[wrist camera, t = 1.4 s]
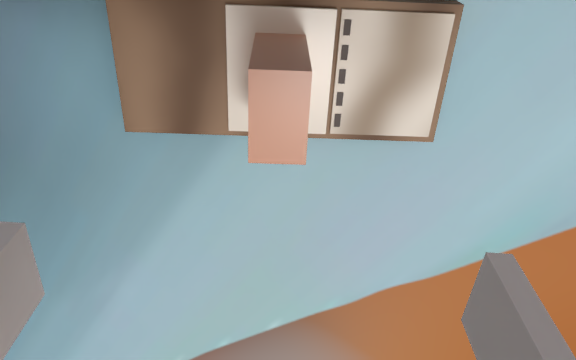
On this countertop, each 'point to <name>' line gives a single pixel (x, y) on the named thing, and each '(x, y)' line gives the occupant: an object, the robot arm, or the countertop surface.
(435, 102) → the board
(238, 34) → the stub
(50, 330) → the countertop surface
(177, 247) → the countertop surface
